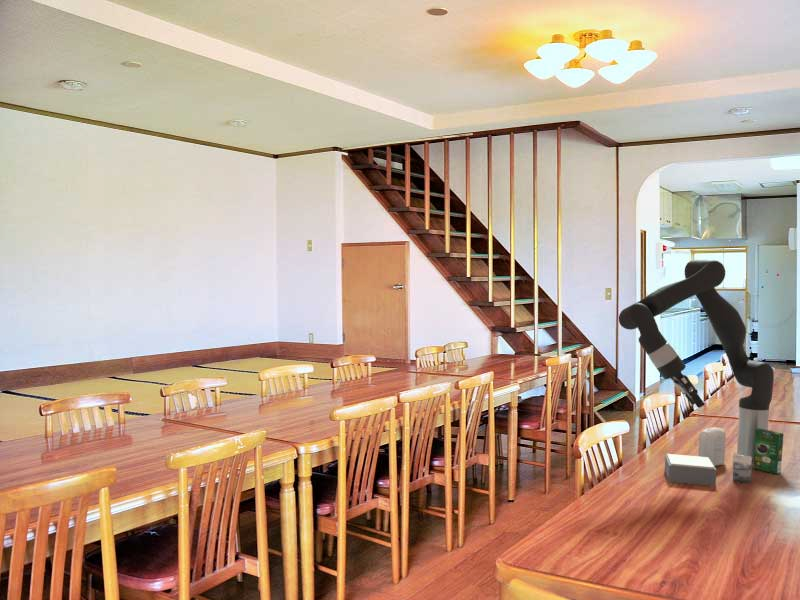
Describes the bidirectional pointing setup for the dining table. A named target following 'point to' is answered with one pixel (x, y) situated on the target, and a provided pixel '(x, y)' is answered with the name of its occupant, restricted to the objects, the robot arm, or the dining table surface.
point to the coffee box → (768, 451)
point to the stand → (690, 469)
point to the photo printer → (713, 445)
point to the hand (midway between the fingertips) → (698, 404)
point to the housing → (742, 467)
